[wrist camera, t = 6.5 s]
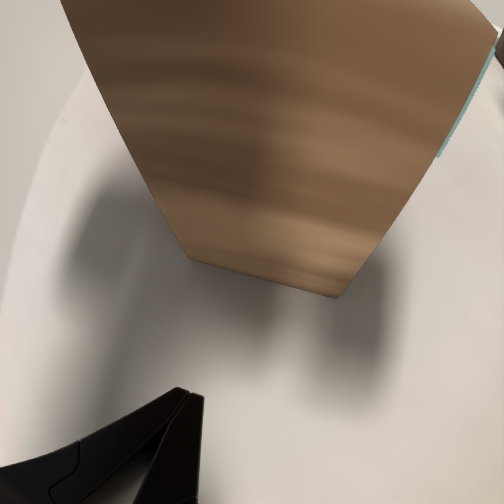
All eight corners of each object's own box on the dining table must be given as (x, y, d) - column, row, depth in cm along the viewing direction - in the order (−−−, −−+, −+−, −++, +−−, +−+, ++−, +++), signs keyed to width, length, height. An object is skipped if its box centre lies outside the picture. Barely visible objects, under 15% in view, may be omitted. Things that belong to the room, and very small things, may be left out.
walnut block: (336, 299, 15) (498, 32, 2) (188, 258, 17) (59, -2, 4) (363, 134, 20) (410, -54, 7) (253, 110, 21) (242, -77, 8)
